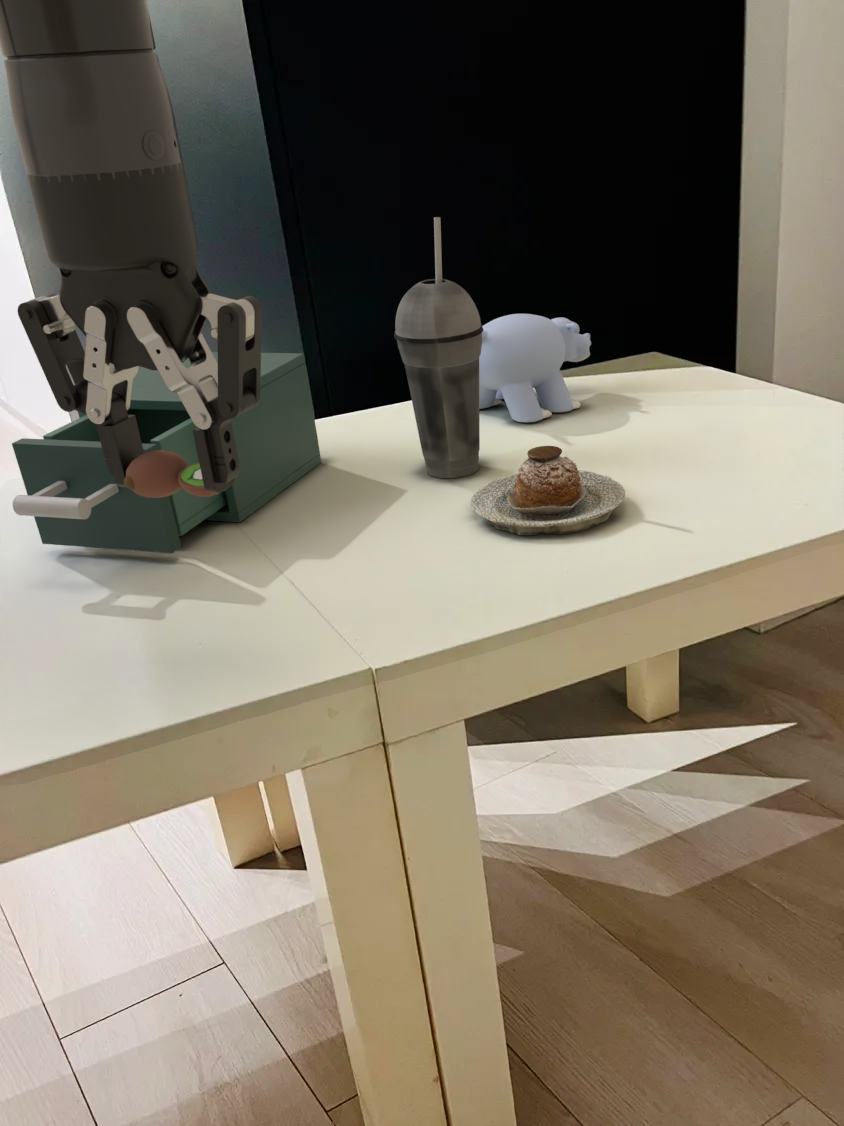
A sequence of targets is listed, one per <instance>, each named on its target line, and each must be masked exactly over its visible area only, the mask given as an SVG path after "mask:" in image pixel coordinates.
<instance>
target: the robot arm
mask: <svg viewBox="0 0 844 1126" xmlns="http://www.w3.org/2000/svg"><path fill="white" fill-rule="evenodd" d="M151 21H152V20H151V16H150V11H149V7H148V1H147V0H0V51H1V55H2V56H1V57H3V58H6V59H4V60H3V63H4V68H5V73H6V79H7V80H6V81H7V89H8V95H9V97H8V98H9V103H10V105H9V106H10V110H11V116H12V120H13V125H14V129H15V133H16V136H17V137H16V138H17V140H18V141H17V142H18V145H19V149H20V153H21V156H22V161H23V164H24V168H25V173H26V177H27V181H28V185H29V188H30V192H31V196H32V200H33V204H34V207H35V211H36V215H37V219H38V223H39V227H40V231H41V235H42V238H43V242H44V247H45V250H46V254H47V257H48V260H49V261H50V263H51V264H52V265H53V266H55V267H57V268H59V272H60V285H59V290H58V294H55V293H51V294H47V295H42V296H38V297H35V298H32V299H29V300H28V301H24V302H21V303H20V304H19V305H18V306H17V315H18V318H19V320H20V322H21V325H22V328H23V329H24V332H25V333H26V336H27V339H28V340H29V343H30V345H31V347H32V350H33V352H34V354H35V356H36V358H37V361H38V363H39V364H40V367H41V369H42V372H43V374H44V377H45V379H46V382H47V383H48V386H49V387H50V390H51V392H52V395H53V397H54V399H55V402H56V404H57V405H58V407H59V408H60V409H61V410H63V411H64V412H66V413H71V412H73V411H76V412H78V411H79V412H81V413H83V414H86V415H87V416H88V418H89V419H90V420H91V421H92V422H93V423H95V424H96V427H97V430H98V434H99V438H100V442H101V446H102V450H103V454H104V457H105V462H106V466H107V469H108V470H109V472H110V474H111V475H112V476H115V480H116V483H117V485H118V486H120V487H126V486H125V484H124V479H125V477H126V470H127V468H128V466H129V465H130V463H131V462H132V461H133V460H134V459H136V458H137V457H138V456H140V455H142V454H144V451H143V446H142V442H141V438H140V434H139V429H138V425H137V421H136V416H135V415H128V413H127V411H128V410H129V408H130V401H131V392H132V383H133V379H134V377H135V376H136V374H137V373H138V370H139V368H141V367H144V368H147V369H150V370H158V371H159V373H160V375H161V376H162V378H163V380H164V382H165V384H166V386H167V387H168V388H169V390H171V391H172V392H175V393H177V394H178V396H179V397H180V399H181V401H182V403H183V405H184V406H185V408H186V410H187V412H188V414H189V415H190V417H191V419H192V421H193V423H194V424H195V425H196V426H197V428H195V429H194V430H192V431H193V435H194V440H195V445H196V450H197V454H198V459H199V464H200V469H201V474H202V478H203V483H204V488H205V490H206V491H207V492H212V493H221V492H223V491H224V490H226V489H227V488H229V487H230V486H232V485H233V484H234V481H235V477H236V476H238V475H239V470H240V464H239V459H238V453H237V450H236V449H237V448H236V443H235V437H234V432H233V427H232V420H233V418H235V417H237V416H239V415H240V414H242V413H244V412H246V411H247V410H249V409H251V408H253V407H255V406H256V405H258V404H259V402H260V387H261V353H262V326H263V325H262V321H263V320H262V319H263V316H262V315H263V308H262V305H261V303H260V300H258V298H256V297H254V296H252V295H247V296H244V297H241V298H239V299H235V298H234V299H233V298H229V297H226V296H223V295H219V294H215V293H212V292H211V289H210V288H209V286H208V284H207V283H206V281H205V280H204V278H203V276H202V274H201V272H200V270H199V265H198V250H199V239H198V234H197V228H196V223H195V219H194V213H193V208H192V207H193V206H192V203H191V198H190V191H189V187H188V182H187V177H186V170H185V165H184V161H183V160H184V159H183V156H182V155H183V154H182V149H181V143H180V139H179V134H178V128H177V123H176V118H175V113H174V108H173V104H172V100H171V97H170V93H169V89H168V86H167V84H166V81H165V77H164V74H163V70H162V67H161V64H160V60H159V56H158V55H159V54H158V52H156V51H154V50H156V47H157V46H156V42H155V37H154V32H153V27H152V22H151ZM207 320H208V322H209V325H210V332H209V333H210V336H211V338H213V339H216V340H217V352H218V364H217V361H216V359H215V358H214V356H213V354H212V352H213V351H212V350H211V348H210V346H209V345H208V342H207V341H206V338H205V337H204V335H203V333H202V330H203V328H204V326H205V323H206V321H207ZM76 327H77V328H78V329H79V330H80V332H81V333H82V334H83V336H85V349H84V347H83V344H82V342H81V340H80V337H79V335H78V333H77V330H76ZM188 358H189V360H190V368H186V367H185V366H184V365H183V364H182V362H184V361H185V360H186V359H188Z"/></svg>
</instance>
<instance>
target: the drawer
mask: <svg viewBox="0 0 844 1126" xmlns="http://www.w3.org/2000/svg"><path fill="white" fill-rule="evenodd" d="M127 413H128V415H135V416H136V421H137V425H138V429H139V434H140V438H141V442H142V446H143V451H144V454H145V453H147V452H150V451H156V450H165V451H170V452H174V453H176V454H178V455H180V456H181V457H183V458H184V459H185V460H186V462H187V464H188V465H191V464H194V463H197V462H199V459H198V454H197V450H196V445H195V440H194V435H193V431H192V430H194V429H195V428H197V426H196V425H195V424H194V423H193V421H192V419H191V417H190V415H189V414H188V412H187V411H168V410H138V409H129V410H128V411H127ZM11 446H12V449H13V453H14V455H15V459H16V462H17V465H18V468H19V473H20V475H21V479H22V482H23V485H24V488H25V491H26V494H17V495H15V496H14V498H13V500H12V509H13V512H14V513H15V514H16V515H18V516H26V517H33V518H34V520H35V524H36V527H37V531H38V534H39V536H40V540H41V543H42V544H43V545H51V546H68V547H81V548H92V549H93V548H94V549H96V548H97V549H107V550H109V549H110V550H123V551H135V552H136V551H137V552H150V553H161V554H162V553H163V554H174V553H175V552H176V551H178V550H179V549H181V548H182V544H181V540H180V537H181V536H184V535H185V534H186V533H188V532H189V531H191V530H192V529H194V528H195V527H197V526H198V525H199V524H201V523H202V522H204V521H206V520H205V519H206V518H208V517H209V516H211V515H212V514H213V513H215V512H216V511H218V510H219V509H221V508H222V507H223V506H225V505H226V504H228V502H227V497H226V492H225V490H224V491H223V492H221V493H219V494H217V495H213V496H209V497H202V496H195V495H193V494H190V493H188V492H186V491H185V490H184V489H183V488H181V489H180V490H179V491H177V492H175V493H174V494H172V495H170V496H166V497H162V498H147V497H144V496H140V495H138V494H136V493H135V492H134V491H132V490H131V489H129V488H127V487H120V486H118V485H117V483H116V480H115V476H112V475H111V474H110V472H109V470H108V469H107V466H106V462H105V457H104V454H103V450H102V446H101V442H100V438H99V434H98V430H97V427H96V424H95V423H93V422H92V421H91V420H90V419H89V418H88V416H87V415H85V416H83V417H81V418H79V417H78V418H77V419H75V420H73V421H71V422H69V423H67V424H64V425H62V426H59V427H58V428H56V429H53V430H52V431H50V432H48V433H45V434H44V435H42V438H23V437H22V438H20V439H18V440H15V441H14V442H12V443H11Z"/></svg>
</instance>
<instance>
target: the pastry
mask: <svg viewBox="0 0 844 1126" xmlns="http://www.w3.org/2000/svg"><path fill="white" fill-rule="evenodd" d="M526 454H527V457H528V458H527V459H525V460H524V461H523V462H522V463H521V464H520V467H519V468H518V472H517V473H515V474H511V475H506V476H503V477H501V478H498V479H495V480H493V481H491V482H489V483H488V484H485V485H484V486H482V487H480V488H479V489H478V490H477V491H476V492H475V493H474V494H473V495H472V497H471V499H470V506H471V509H472V510H473V512H475V514H476V515H478V516H480V517H481V518H483V519H486V520H488V521H489V525H490V526H494V528H495V529H496V530H499V531H500V530H501V531H506V532H507V531H508V532H510V534H516V535H518V536H536V535H541V534H542V535H549V534H559V535H565V534H570V533H571V534H572V533H580V532H582V531H585V530H588V529H589V528H591V527H594V526H595V527H596V526H597V525H600V524H601V523H603V522H606V521H608V520H609V518H610V516H611V514H612V513H613V512H614V510H616V508H618V507H619V506H620V505H621V504H622V503H623V501H624V499H625V497H626V490H625V488H624V486H623V485H622V484H621V483H620V482H618V481H616V480H615V479H613V478H612V477H611V476H608V475H604V474H599V473H596V472H594V471H587V470H579V468H578V466H577V464H576V463H575V462H574V461H573V460H572V459H570V458H569V457H567V456H563V457H562V456H561V455H562V454H563V450H562V448H560V447H559V446H556V445H540V446H535V447H532V448H530V449H529V450H527V453H526Z"/></svg>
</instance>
